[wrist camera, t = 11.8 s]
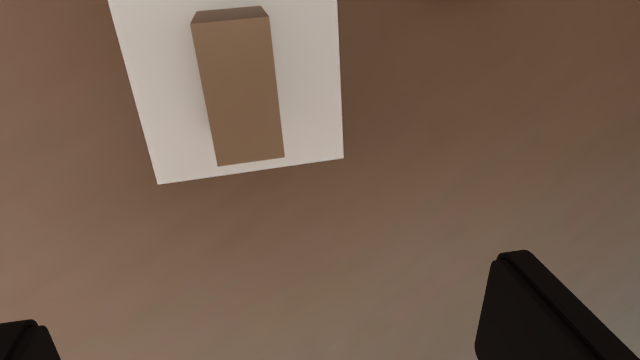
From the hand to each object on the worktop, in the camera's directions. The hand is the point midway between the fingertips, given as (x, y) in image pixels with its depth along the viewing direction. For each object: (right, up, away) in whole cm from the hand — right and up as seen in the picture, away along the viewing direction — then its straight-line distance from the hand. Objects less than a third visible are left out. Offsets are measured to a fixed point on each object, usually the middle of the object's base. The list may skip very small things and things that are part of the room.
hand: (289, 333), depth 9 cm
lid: (-5, +11, +21) cm, 24 cm away
